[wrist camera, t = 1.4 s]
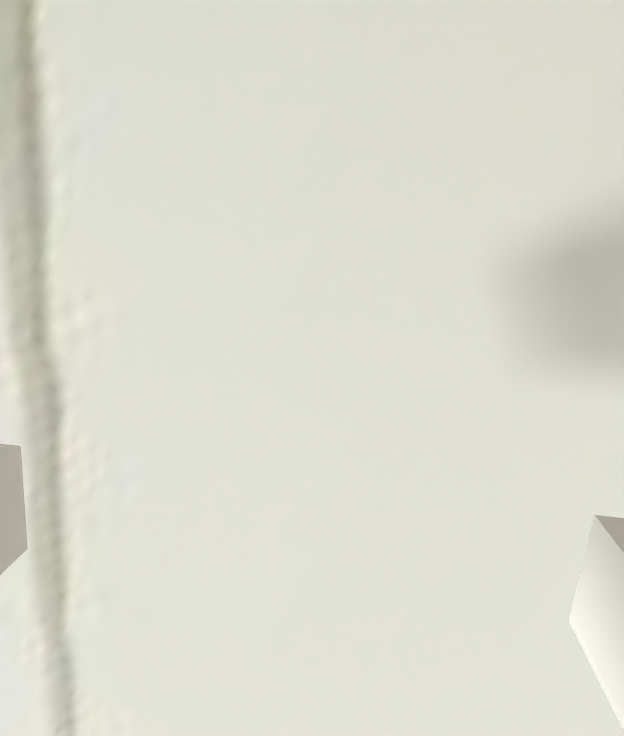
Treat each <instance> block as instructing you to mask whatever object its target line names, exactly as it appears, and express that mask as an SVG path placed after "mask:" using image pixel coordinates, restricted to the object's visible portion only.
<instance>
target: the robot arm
mask: <svg viewBox="0 0 624 736" xmlns="http://www.w3.org/2000/svg"><path fill="white" fill-rule="evenodd" d="M26 549H27V536H26V521H25V505H24V490H23V475H22V459H21V446H14V445H5V444H0V575H1V574H2V573H3V572H4V571H5V570H6V569H7V568H8V567H9V566H10V565H11V564H12V563H13V562H14V561H15V560H16V559H17V558H18V557H19V556H20V555H21V554H22V553H23V552H24V551H25V550H26ZM569 622H570V625H571V627H572V629H573V631H574V633H575V635H576V637H577V639H578V641H579V643H580V645H581V647H582V649H583V651H584V653H585V655H586V657H587V659H588V661H589V663H590V665H591V667H592V669H593V671H594V673H595V675H596V677H597V679H598V681H599V683H600V685H601V687H602V689H603V691H604V693H605V695H606V697H607V699H608V701H609V703H610V705H611V707H612V709H613V711H614V713H615V715H616V717H617V719H618V721H619V723H620V725H621V727H622V729H623V731H624V518H615V517H607V516H599V515H595V516H594V520H593V524H592V528H591V532H590V536H589V540H588V544H587V548H586V552H585V556H584V560H583V565H582V569H581V573H580V577H579V581H578V585H577V589H576V593H575V597H574V601H573V605H572V609H571V613H570V617H569Z"/></svg>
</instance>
